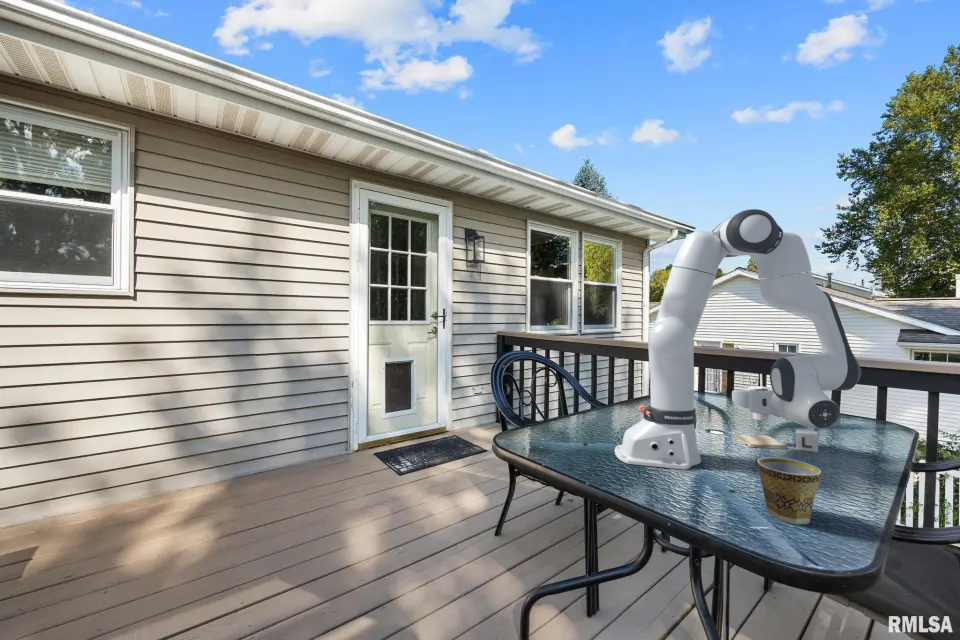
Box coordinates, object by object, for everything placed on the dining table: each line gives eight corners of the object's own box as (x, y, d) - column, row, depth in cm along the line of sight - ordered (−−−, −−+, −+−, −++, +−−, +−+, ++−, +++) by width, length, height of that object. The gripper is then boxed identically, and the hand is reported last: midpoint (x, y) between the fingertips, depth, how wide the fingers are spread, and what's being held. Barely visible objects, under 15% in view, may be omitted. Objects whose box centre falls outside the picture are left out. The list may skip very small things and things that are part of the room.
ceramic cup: (836, 528, 74) (835, 474, 74) (786, 530, 73) (785, 476, 73) (778, 497, 87) (778, 451, 87) (735, 499, 86) (734, 453, 86)
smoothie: (777, 421, 121) (775, 375, 121) (753, 420, 122) (752, 375, 122) (766, 416, 127) (765, 372, 127) (744, 416, 128) (743, 372, 128)
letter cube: (818, 452, 115) (817, 435, 115) (796, 449, 118) (795, 432, 118) (817, 448, 119) (817, 431, 119) (796, 445, 122) (795, 428, 123)
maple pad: (750, 447, 120) (750, 444, 120) (734, 437, 130) (734, 434, 130) (786, 448, 119) (786, 445, 119) (767, 438, 129) (767, 435, 129)
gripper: (826, 390, 110) (794, 383, 124) (745, 390, 113) (723, 383, 127) (826, 413, 110) (794, 403, 124) (746, 412, 113) (723, 403, 127)
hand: (758, 393), depth 125 cm, fingers closed on smoothie, 6 cm apart
